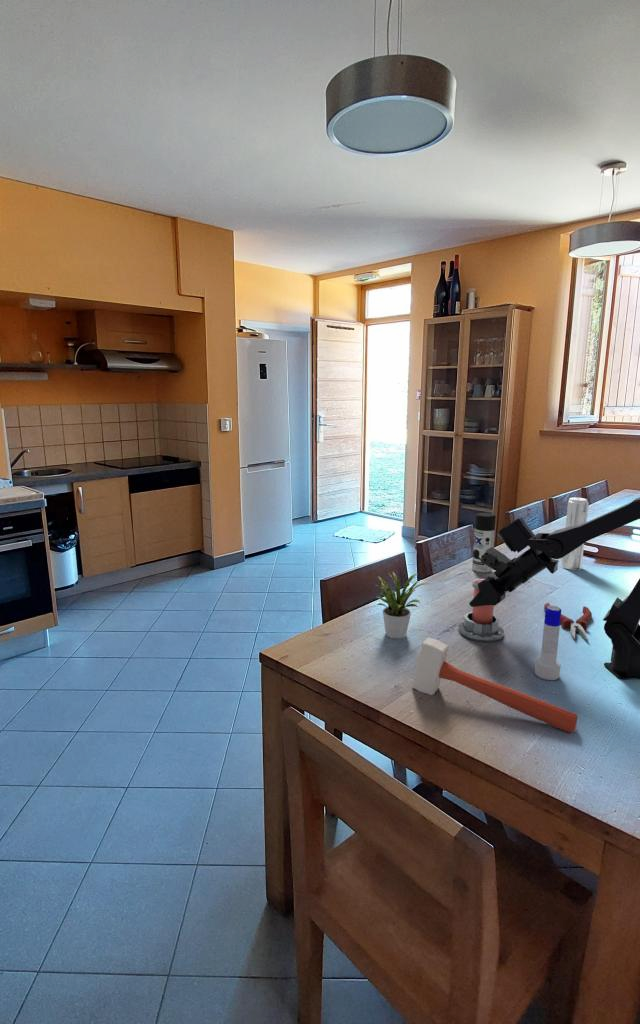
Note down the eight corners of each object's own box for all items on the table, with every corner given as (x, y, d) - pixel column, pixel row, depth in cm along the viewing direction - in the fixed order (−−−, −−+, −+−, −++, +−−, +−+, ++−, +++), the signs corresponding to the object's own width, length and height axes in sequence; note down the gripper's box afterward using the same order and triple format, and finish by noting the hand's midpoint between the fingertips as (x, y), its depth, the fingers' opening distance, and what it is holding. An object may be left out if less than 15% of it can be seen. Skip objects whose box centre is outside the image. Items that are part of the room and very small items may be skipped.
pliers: (554, 641, 134) (555, 631, 133) (542, 609, 153) (543, 600, 153) (607, 647, 131) (608, 636, 130) (587, 614, 151) (588, 605, 150)
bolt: (532, 677, 116) (536, 667, 120) (557, 683, 113) (560, 673, 117) (539, 609, 112) (542, 601, 116) (565, 614, 110) (567, 606, 114)
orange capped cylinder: (497, 633, 134) (501, 586, 132) (473, 634, 134) (476, 587, 131) (489, 623, 140) (492, 578, 137) (466, 624, 140) (469, 578, 137)
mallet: (584, 697, 96) (426, 635, 111) (582, 707, 93) (420, 641, 108) (568, 747, 99) (417, 679, 114) (565, 757, 96) (410, 687, 111)
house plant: (431, 626, 141) (434, 567, 138) (427, 649, 128) (430, 585, 125) (377, 620, 145) (379, 562, 141) (368, 642, 132) (370, 579, 128)
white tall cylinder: (562, 569, 188) (569, 499, 183) (560, 563, 194) (567, 496, 189) (582, 571, 186) (590, 500, 181) (579, 565, 192) (587, 497, 187)
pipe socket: (510, 641, 132) (511, 626, 131) (465, 642, 132) (466, 627, 131) (494, 622, 143) (495, 609, 142) (453, 623, 143) (453, 609, 142)
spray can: (467, 568, 188) (471, 513, 184) (482, 566, 191) (486, 511, 187) (480, 574, 182) (484, 517, 178) (496, 571, 185) (500, 515, 181)
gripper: (515, 532, 137) (471, 565, 146) (489, 548, 123) (442, 583, 132) (544, 567, 134) (498, 599, 143) (521, 588, 120) (470, 621, 128)
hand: (477, 599), depth 137 cm, fingers open, 9 cm apart
